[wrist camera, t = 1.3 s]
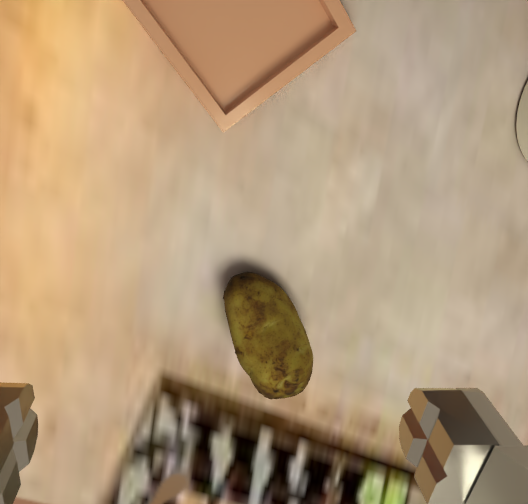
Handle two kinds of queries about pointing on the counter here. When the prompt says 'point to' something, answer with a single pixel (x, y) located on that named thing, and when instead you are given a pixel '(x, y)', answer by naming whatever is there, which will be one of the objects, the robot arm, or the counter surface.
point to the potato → (268, 336)
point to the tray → (241, 45)
